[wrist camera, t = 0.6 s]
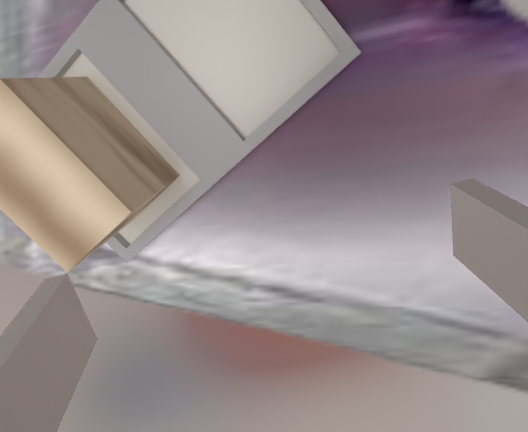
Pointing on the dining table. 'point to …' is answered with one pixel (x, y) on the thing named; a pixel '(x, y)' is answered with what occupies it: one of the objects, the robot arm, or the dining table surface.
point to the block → (72, 165)
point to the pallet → (202, 82)
